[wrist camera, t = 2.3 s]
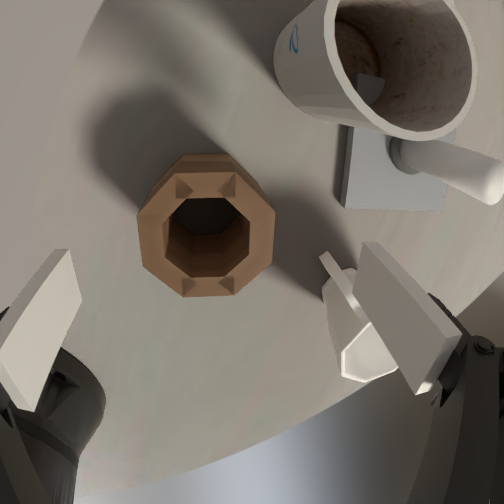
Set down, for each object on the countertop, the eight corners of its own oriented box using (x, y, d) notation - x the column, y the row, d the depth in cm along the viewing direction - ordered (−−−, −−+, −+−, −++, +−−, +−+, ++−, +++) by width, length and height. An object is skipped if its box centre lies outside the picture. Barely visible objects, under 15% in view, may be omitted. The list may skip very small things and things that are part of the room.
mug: (320, 144, 21) (395, 177, 12) (246, 49, 18) (278, 6, 9) (428, 67, 19) (521, 70, 10) (371, -20, 15) (452, -59, 6)
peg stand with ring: (339, 203, 23) (411, 268, 14) (351, 73, 19) (444, 67, 10) (435, 208, 25) (513, 259, 16) (451, 100, 20) (543, 118, 11)
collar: (159, 251, 23) (147, 297, 18) (152, 155, 20) (133, 175, 14) (254, 248, 24) (269, 293, 19) (258, 153, 21) (278, 172, 15)
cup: (326, 331, 29) (357, 395, 22) (272, 261, 25) (299, 328, 17) (387, 291, 28) (431, 346, 21) (346, 210, 24) (400, 259, 16)
